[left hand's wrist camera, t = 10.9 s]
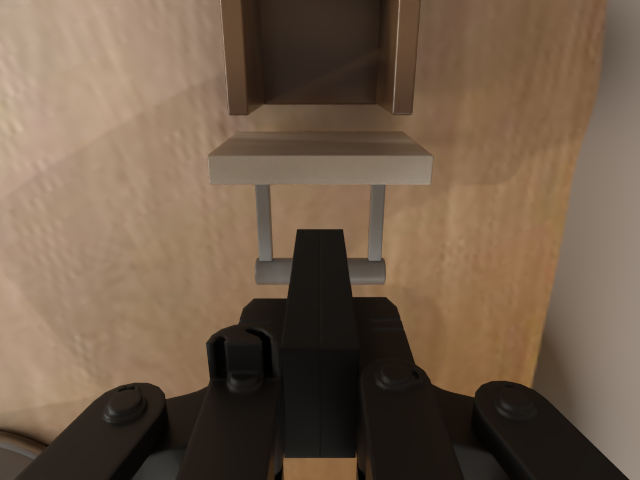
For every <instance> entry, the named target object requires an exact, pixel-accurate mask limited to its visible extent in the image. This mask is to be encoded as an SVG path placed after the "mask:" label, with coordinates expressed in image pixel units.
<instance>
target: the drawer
mask: <svg viewBox="0 0 640 480" xmlns="http://www.w3.org/2000/svg"><path fill="white" fill-rule="evenodd" d="M420 3H421V0H220V10H221V23H222V37H223V50H224V64H225V77H226V91H227V104H228V114H229V115H248V114H250V113H251V112H253V111H255V110H256V109H258V108H259V107H261V106H262V105H264V104H377V105H379V106H380V107H382V108H383V109H385V110H387V111H388V112H390V113H391V114H393V115H411V114H412V111H413V98H414V84H415V71H416V57H417V44H418V30H419V17H420ZM433 157H434V156H433V155H432V154H431V153H429V152H428V151H427V150H425V149H424V148H423V147H422V146H420V145H419V144H418V143H416V142H415V141H414V140H413V139H411V138H410V137H409V136H407V135H406V134H405V133H404V132H237V133H236V134H234V135H233V136H232V137H231V138H229V139H228V140H227V141H225V142H224V143H223V144H222V145H220V146H219V147H218V148H217V149H215V150H214V151H213V152H211V153H210V154H209V155H208V156H207V160H208V171H209V181H210V184H211V185H255V190H256V208H257V226H258V244H259V258H257V259H256V263H255V281H256V284H257V285H289V283H290V276H291V269H292V262H293V258H273V244H272V221H271V198H270V185H371V189H370V212H369V236H368V258H347V262H348V269H349V276H350V283H351V285H383V284H384V283H385V278H386V266H385V260H384V258H381V254H382V236H383V218H384V200H385V185H430V184H431V178H432V167H433Z"/></svg>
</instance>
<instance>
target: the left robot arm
mask: <svg viewBox="0 0 640 480" xmlns="http://www.w3.org/2000/svg"><path fill="white" fill-rule="evenodd" d="M206 346H207V355H208V364H209V373H210V382H209V385H208V386H207V387H205V388H203V389H201V390H199V391H197V392H193V393H190V394H187V395H183V396H178V397H174V398H169V399H165V394H164V393H163V391H162V390H161V389H160V388H159V387H157V386H155V385H152V384H149V383H131V384H127V385H122V386H119V387H117V388H114V389H112V390H110V391H108V392H106V393H104V394H103V395H102V396H100V397H99V398H98V399H96V400H95V401H94V402H93V403H92V404H91V405H89V406H88V407H87V408H86V409H85V410H84V411H83V412H82V413H81V414H80V415H79V416H78V417H77V418H76V419H75V420H74V421H73V422H72V423H71V424H70V425H69V426H68V427H67V428H66V429H65V430H64V431H63V432H62V433H61V434H60V435H59V436H58V437H57V438H56V439H55V440H54V441H53V442H52V443H51V444H50V445H49V446H48V447H46V446H44V445H42V444H40V443H38V442H36V441H33V440H31V439H28V438H25V437H22V436H19V435H16V434H12V433H7V432H3V431H0V480H284V473H283V458H356V455H357V473H356V480H629V479H628V478H627V477H626V476H625V475H624V474H623V473H622V472H621V471H620V470H619V469H618V468H617V467H616V466H615V465H614V464H613V463H612V462H611V461H610V460H609V459H608V458H607V457H605V456H604V455H603V454H602V453H601V452H600V451H599V450H598V449H597V448H596V447H595V446H594V445H593V444H592V443H591V442H590V441H589V440H588V439H587V438H586V437H585V436H584V435H583V434H582V433H581V432H580V431H579V430H578V429H577V428H576V427H575V426H574V425H573V424H571V422H569V421H568V420H567V419H566V418H565V417H564V416H563V415H562V414H561V413H560V412H559V411H558V410H557V409H556V408H555V407H554V406H553V405H552V404H551V403H550V402H549V401H548V400H547V399H546V398H544V397H543V396H542V395H540V394H539V393H537V392H536V391H535V390H533V389H530V388H528V387H526V386H524V385H521V384H518V383H513V382H509V381H491V382H489V383H486V384H483V385H481V386H480V388H479V389H478V390H477V391H476V393H475V398H474V397H470V396H466V395H461V394H457V393H453V392H449V391H446V390H443V389H441V388H439V387H437V386H434V385H433V384H431V381H430V379H429V377H428V376H427V374H426V373H425V371H424V370H422V369H421V368H420V367H418V366H417V365H416V364H415V362H414V359H413V356H412V353H411V350H410V346H409V343H408V340H407V337H406V334H405V331H404V328H403V325H402V322H401V320H400V315H399V312H398V309H397V307H396V306H395V305H394V304H393V303H392V302H391V301H390V300H388V299H387V298H386V297H352V290H351V283H350V276H349V269H348V262H347V255H346V248H345V241H344V234H343V229H297V234H296V241H295V248H294V255H293V262H292V269H291V276H290V283H289V290H288V297H287V299H253V300H252V301H251V302H250V303H249V304H248V305H247V306H245V307H244V308H243V311H242V314H241V317H240V322H239V323H238V325H233V326H230V327H227V328H224V329H221V330H220V331H218V332H217V333H215V334H213V335H212V336H211V337H210V339H209V340H208V341H207V343H206Z"/></svg>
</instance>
